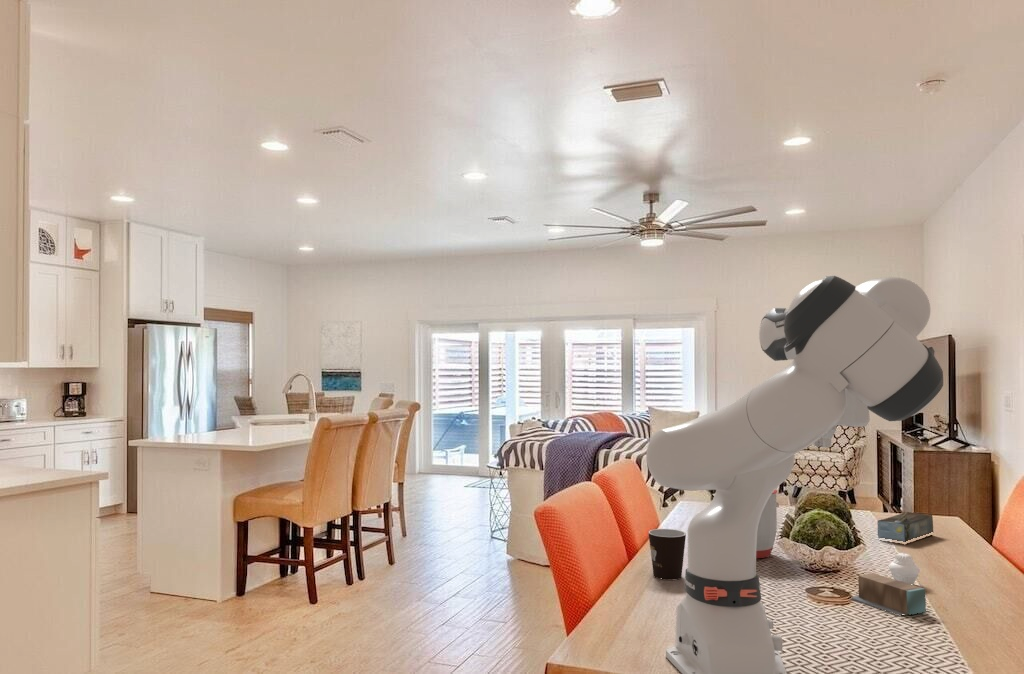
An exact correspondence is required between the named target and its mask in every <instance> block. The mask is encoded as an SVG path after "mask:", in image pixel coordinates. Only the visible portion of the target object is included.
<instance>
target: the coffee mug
mask: <svg viewBox="0 0 1024 674" xmlns="http://www.w3.org/2000/svg"><path fill="white" fill-rule="evenodd" d="M686 536H687V533H686V532H685V531H682V530H679V529H678V530H677V529H672V528H656V529H655V528H654V529H651V530H648V538H649V539H648V541H649V547H650V548H649V549H650V556H651V557H650V558H651V565H652V573H653V577H654V576H655V577H654V578H656V577H658V578H662V579H661V580H663V579H677V580H679V579H678V578H680V579H682V576H683V564H684V557H685V548H686V547H685V546H686ZM658 578H657V579H658Z"/></svg>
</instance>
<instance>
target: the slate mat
mask: <svg viewBox="0 0 1024 674" xmlns="http://www.w3.org/2000/svg"><path fill="white" fill-rule="evenodd" d="M850 597H851V598H852V599H853V601H855V602H858V603H861V604H864V605H867V606H869V607H873V608H875V607H876V609H878V608H880V609H883V610H886V611H889V612H893V613H895V614H899V615H902V614H906V613H903V612H900V611H897V610H894V609H891V608H888V607H885V606H882V605H880V604H877V603H874V602H871V601H868V600H865V599H862V598H859V595H855V596H850ZM852 599H851V600H852ZM880 609H879V610H880ZM883 610H882V611H883ZM886 611H885V612H886ZM889 612H888V613H889ZM895 614H894V615H895Z"/></svg>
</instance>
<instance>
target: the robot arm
mask: <svg viewBox="0 0 1024 674" xmlns="http://www.w3.org/2000/svg"><path fill="white" fill-rule="evenodd" d="M930 316H931V303H930V299H929V298H928V295H927V294H926V292H925V291H924V290H923V288H922V287H920V285H918V284H917V283H915V282H913V281H912V280H910V279H907V278H903V277H894V276H893V277H892V276H889V277H887V276H886V277H879V278H872V279H870V280H867V281H864V282H862V283H859V284H858V285H854V284H852V283H850V281H847V280H846V279H843V278H841V277H840V276H838V275H837V276H836V275H829V276H827V275H826V276H825V277H823V278H822V279H819V280H815V281H813V282H811V283H809V284H807V285H806V286H805V287H803V288H802V289H801V290H800V291H799V292H798V293H797V294H796V295H795V296H794V298H792V301H791V303H790V305H789V307H788V308H784V307H774V308H771V310H769V311H768V312H767V313H766V314H765V315H764V316H763V317H762V319H761V322H760V326H759V333H758V339H759V343H760V347H761V350H762V351H763V352H764V354H766V355H767V356H768V357H769V358H771V360H773V361H775V362H776V361H777V362H778V361H788V360H792V362H791V363H789V365H788V366H786V367H784V369H782V370H780V371H779V372H777V373H774V375H772V376H770V377H768V378H767V379H765V380H763V381H762V382H761V383H759V384H758V385H756V386H755V387H754V388H752V389H751V390H750V391H748V392H746V393H745V394H744V395H743V396H742V397H740V398H739V399H737V400H736V401H735V402H733V403H731V404H728V405H727V406H725V407H722V408H720V409H719V408H718V409H716V410H714V411H711V412H708V413H705V414H703V415H702V416H699V417H697V418H694V419H692V420H687V421H686V422H683V423H679V424H676V425H673V426H668V427H666V428H660V429H658V430H657V431H655V432H654V434H653V435H652V436H651V438H650V440H649V442H648V444H647V448H646V457H645V458H646V464H647V465H646V466H647V469H648V471H649V473H650V474H651V477H652V478H653V480H654V481H655V482H656V483H657V484H658V485H660V486H661V487H665V488H670V489H675V490H682V491H688V492H693V491H715V494H714V496H713V498H712V500H711V501H710V503H709V504H708V505H707V507H706V508H704V509H703V510H701V511H700V512H698V513H697V514H696V515H694V516H693V517H692V518H691V520H690V522H689V524H688V528H687V568H686V569H685V576H684V583H685V584H684V585H685V587H684V590H685V592H686V593H685V596H684V598H683V599H682V600H681V601H680V602H679V603H678V604H677V605H676V611H675V612H676V616H675V640H674V641H675V644H674V645H673V646H671V647H668V648H666V649H665V658H666V659H667V660H669V662H670V663H671V664H672V665H674V667H675V668H676V669H677V670H678V671H679V672H680V673H681V674H788V673H787V671H786V667H785V664H784V661H783V659H782V656H781V653H780V652H781V651H783V637H782V636H781V635H779V634H772V632H771V630H773V629H774V621H773V619H768V617H767V613H766V605H764V604H763V603H762V602H761V600H762V593H761V590H762V588H761V582H760V577H759V574H758V572H757V558H756V544H757V530H758V524H759V520H760V517H761V514H762V511H763V509H764V507H765V505H766V503H767V501H768V499H769V497H770V496H771V494H772V493H773V492H774V490H777V488H778V487H779V486H780V485H781V484H783V482H785V481H786V480H787V479H788V478H789V477H790V475H791V474H792V471H793V469H794V466H795V460H796V459H795V458H796V457H795V455H796V454H798V453H799V452H801V451H803V450H805V449H807V448H808V447H810V446H811V445H813V446H814V447H821V448H831V447H832V439H833V437H834V435H835V433H836V431H837V426H843V427H854V428H858V427H860V428H861V427H862V428H863V427H866V426H867V427H868V425H869V422H870V420H871V419H870V412H872V413H874V414H875V415H877V416H878V417H880V418H882V419H884V420H886V421H888V422H902V421H904V420H907V419H909V418H910V417H913V416H915V415H918V414H919V413H921V412H923V411H924V410H926V409H927V408H928V407H929V406H931V404H932V403H933V402H934V401H935V399H936V398H937V396H938V395H939V392H941V390H942V388H943V387H944V370H943V368H942V366H941V365H940V363H939V361H938V359H937V357H935V350H934V347H933V346H930V347H928V346H927V345H925V344H924V343H922V342H921V341H920V340H919V339H918V336H919V335H920V334H921V332H923V331H924V329H925V327H927V325H928V323H929V319H930Z"/></svg>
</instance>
